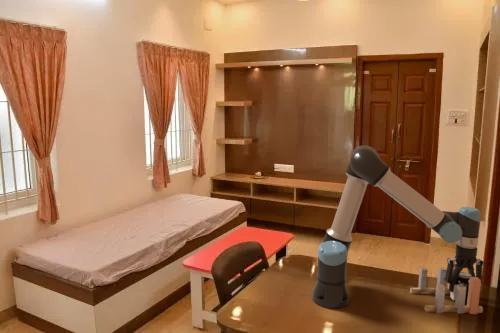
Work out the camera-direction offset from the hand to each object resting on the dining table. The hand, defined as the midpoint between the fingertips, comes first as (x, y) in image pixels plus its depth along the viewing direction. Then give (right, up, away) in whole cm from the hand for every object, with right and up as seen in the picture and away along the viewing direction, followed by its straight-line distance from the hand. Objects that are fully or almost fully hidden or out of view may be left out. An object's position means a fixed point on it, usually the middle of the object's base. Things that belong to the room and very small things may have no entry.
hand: (461, 298), depth 161 cm
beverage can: (0, -2, 0) cm, 2 cm away
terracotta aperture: (0, -1, 0) cm, 1 cm away
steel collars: (-9, -1, 0) cm, 9 cm away
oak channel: (-7, -1, 0) cm, 7 cm away
